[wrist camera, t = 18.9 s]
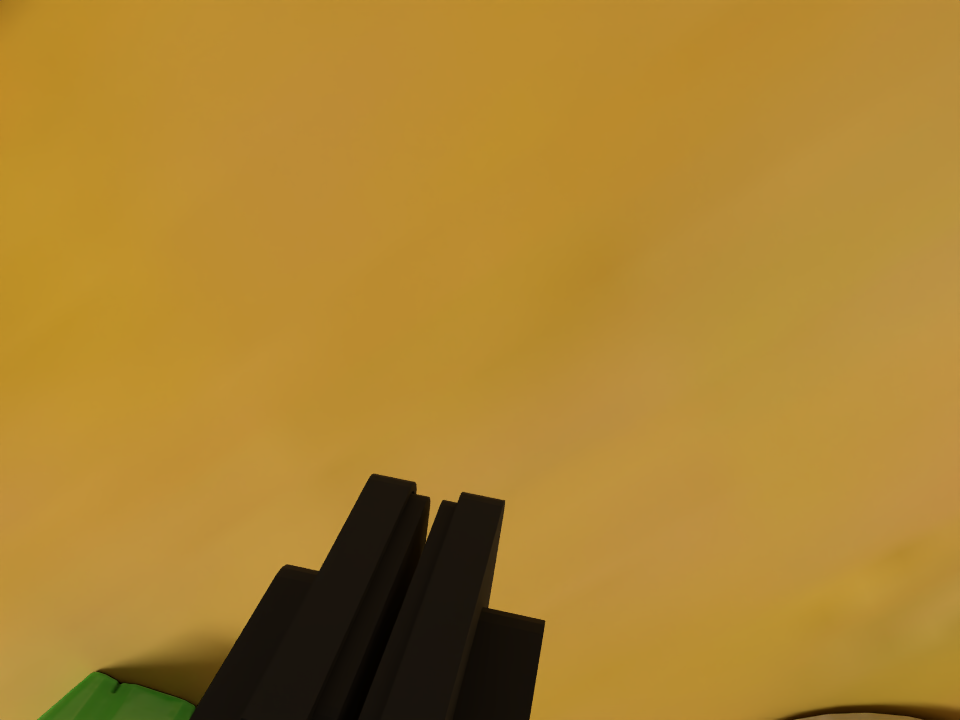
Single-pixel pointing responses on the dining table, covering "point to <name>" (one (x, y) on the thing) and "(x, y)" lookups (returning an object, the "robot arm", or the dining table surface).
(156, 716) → the fruit basket
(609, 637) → the dining table surface
